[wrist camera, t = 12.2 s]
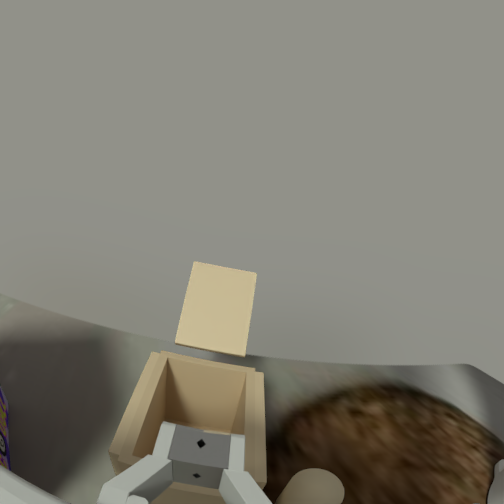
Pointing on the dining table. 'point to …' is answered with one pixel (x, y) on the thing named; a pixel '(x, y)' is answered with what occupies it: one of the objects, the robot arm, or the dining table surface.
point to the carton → (193, 415)
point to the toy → (4, 431)
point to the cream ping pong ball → (312, 488)
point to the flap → (217, 310)
